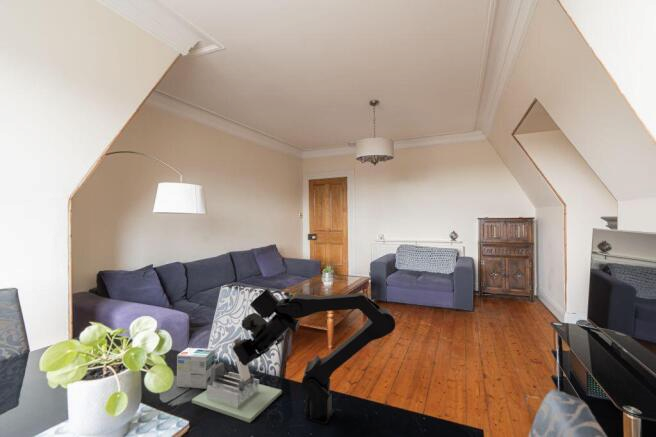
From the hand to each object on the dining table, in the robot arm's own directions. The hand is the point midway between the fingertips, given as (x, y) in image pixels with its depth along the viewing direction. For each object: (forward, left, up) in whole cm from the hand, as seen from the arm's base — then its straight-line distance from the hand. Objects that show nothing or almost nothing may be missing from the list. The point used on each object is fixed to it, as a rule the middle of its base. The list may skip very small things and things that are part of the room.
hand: (244, 358), depth 92 cm
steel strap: (+2, 0, -1) cm, 3 cm away
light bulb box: (+22, -2, -13) cm, 26 cm away
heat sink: (+5, 0, -12) cm, 13 cm away
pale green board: (+3, -1, -13) cm, 13 cm away
